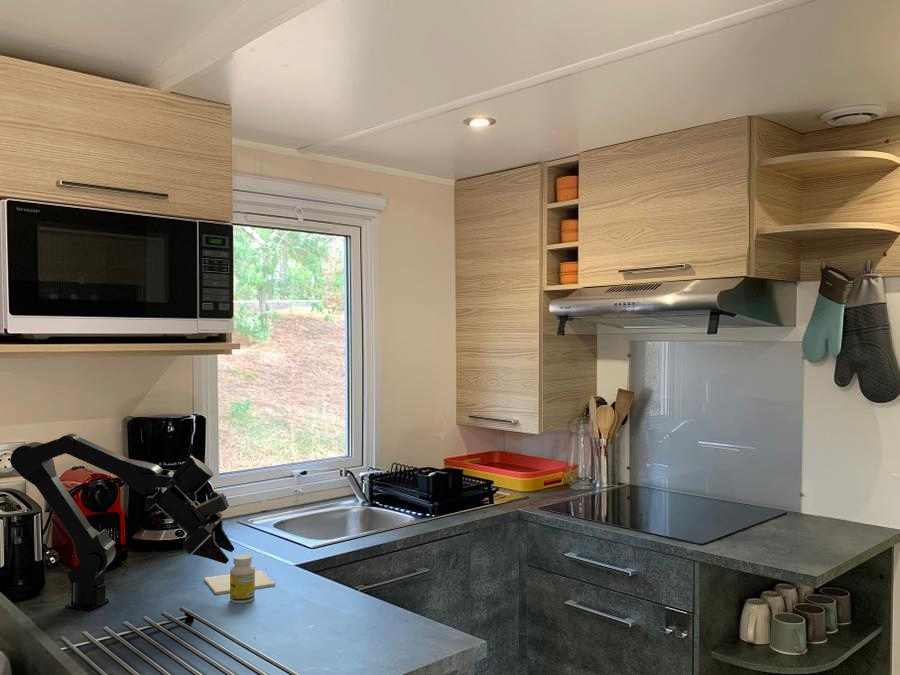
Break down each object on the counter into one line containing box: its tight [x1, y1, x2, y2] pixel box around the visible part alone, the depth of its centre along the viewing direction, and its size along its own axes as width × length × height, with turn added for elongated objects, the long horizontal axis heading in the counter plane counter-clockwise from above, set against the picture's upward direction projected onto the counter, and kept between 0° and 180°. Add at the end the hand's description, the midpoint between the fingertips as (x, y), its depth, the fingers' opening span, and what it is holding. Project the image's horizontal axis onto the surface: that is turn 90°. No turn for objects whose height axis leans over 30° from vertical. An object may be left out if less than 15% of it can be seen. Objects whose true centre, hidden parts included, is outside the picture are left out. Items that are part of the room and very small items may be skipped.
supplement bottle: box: [229, 553, 256, 604], centre depth 172 cm, size 5×5×10 cm
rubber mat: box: [203, 569, 276, 595], centre depth 184 cm, size 14×12×1 cm
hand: (230, 556), depth 172 cm, fingers open, 9 cm apart
